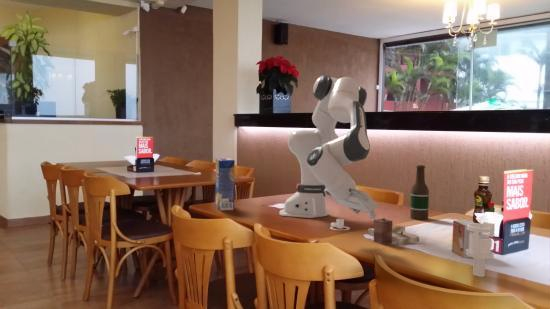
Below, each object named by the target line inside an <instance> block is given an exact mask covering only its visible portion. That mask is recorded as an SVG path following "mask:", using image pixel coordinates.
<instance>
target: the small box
mask: <svg viewBox="0 0 550 309" xmlns="http://www.w3.org/2000/svg"><path fill="white" fill-rule="evenodd" d="M471 223H474V222H473V221H471V220H466V219H465V220H464V219H461V220H459V219H457V220H456V219H454V220H453V222H452V224H453V225H452V240H451V242H452V243H451V244H452V245H451V252H452V253H455V254H456V255H458V256H460V257H461V258H463V259H467V258H468V259H470V258H472V259H473V257H469V256H467V255H466V249H469V234H470V232H472V233H474V231H470V230H467V224H471ZM476 228H477V227H476ZM481 232H482V231H481ZM481 232H479V236H480V235H481Z"/></svg>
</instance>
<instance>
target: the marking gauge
mask: <svg viewBox="0 0 550 309" xmlns="http://www.w3.org/2000/svg"><path fill="white" fill-rule="evenodd" d="M373 228H374V236H373V242H374V243H376V244H378V245H382V246H383V245H390V244H392V243H393V242H392V232H401V234H403V232H406V226H404V225H399V226H397V225H396V226H393V220H391V219H387V218H385V217H381V218H374V219H373Z"/></svg>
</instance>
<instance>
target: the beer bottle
mask: <svg viewBox="0 0 550 309" xmlns="http://www.w3.org/2000/svg"><path fill="white" fill-rule="evenodd" d="M415 168H416V174H415V182H414V184H413V185H412V188H411V190H410V210H409V211H410V219H412V220H417V221H426V220H428V219H429V205H430V203H429V201H430V190H429V188H428V185H427V184H426V179H425V177H426V176H425V168H426V165H423V164H422V165H421V164H419V165H416V167H415Z"/></svg>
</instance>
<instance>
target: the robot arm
mask: <svg viewBox="0 0 550 309" xmlns="http://www.w3.org/2000/svg"><path fill="white" fill-rule="evenodd" d="M312 90H313V91H312V94H313V97H314V98H315V99H317V104H316V106H315V108H314V110H313V113H312V116H311V120H312V123H313V124H314V126H315V127H316V128H315V129H313V130H310V129H309V130H308V129H306V130H305V129H304V130H303V129H302V130H297V131H292V132H291V133H290V134H289V136H288V138H287V147H288V148H289V149H288V150H289V151H290V152H291V153H293V155H294V156H295V157H296V158H297V160H298V162H299V167H300V183H297V184H296V185H295V186H296V192H295V193H293V194H292V195H291V196H289V197H288V198H287V199H286V200H285V201H284V205H283V208H282V209H281V210H279V215H280V216H283V217H292V218H293V217H295V218H308V219H315V218H320V217H322V218H323V217H327V216H328V215H329V213H328V208H327V203H326V197H327V196H326V195H328V196H329V197H330V198H331V199H332V200H334V201H335V203H336V204H338V205H340V206H344V207H347V208H348V209H349V210H351V211H353V213H354V214H357V215H358V214H359V213H360V212H361V211H362V212H365V213H367V214H368V216H369V218H370V219H373V220H374V219H376V217H377V214H376V212H375V210H376V209H377V208H378V204H377V202H376V201H375V200H374V199H373V198H372V197H371V196H370V195H369V194H368V193H367V192H365V191H364V190H361V189H357V188H356V186H357V183H356V182H355V180H354V179H353V178H352V177H351V176H350V175H349V174H348V172H347V171H345V169H343V167H344V166H346V165H349V164H353V163H355V162H359V161H362V160H366V158H367V157H368V156H369V153H370V149H371V145H370V140H369V137H368V129H367V118H366V112H365V108H364V106H365V105H366V103H367V95H368V93H367V90H366V89H365V88H364V87H362V86H359V85H358V83H357V81H356V80H355V79H354V78H352V77H350V76H343V77H340V78H337V77H334V76H333V77H331V76H330V75H326V74H324V75H323V74H322V75H320V76H318V78H317V79H316V81H315V82H314V84H313V88H312ZM338 122H339V123H342V124H347V123H348V124H349V123H350V130H349V131H347V132H346V133H345V134H342V135H341V136H338V134H337V133H336V130H335V129H336V126H337V123H338Z"/></svg>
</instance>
